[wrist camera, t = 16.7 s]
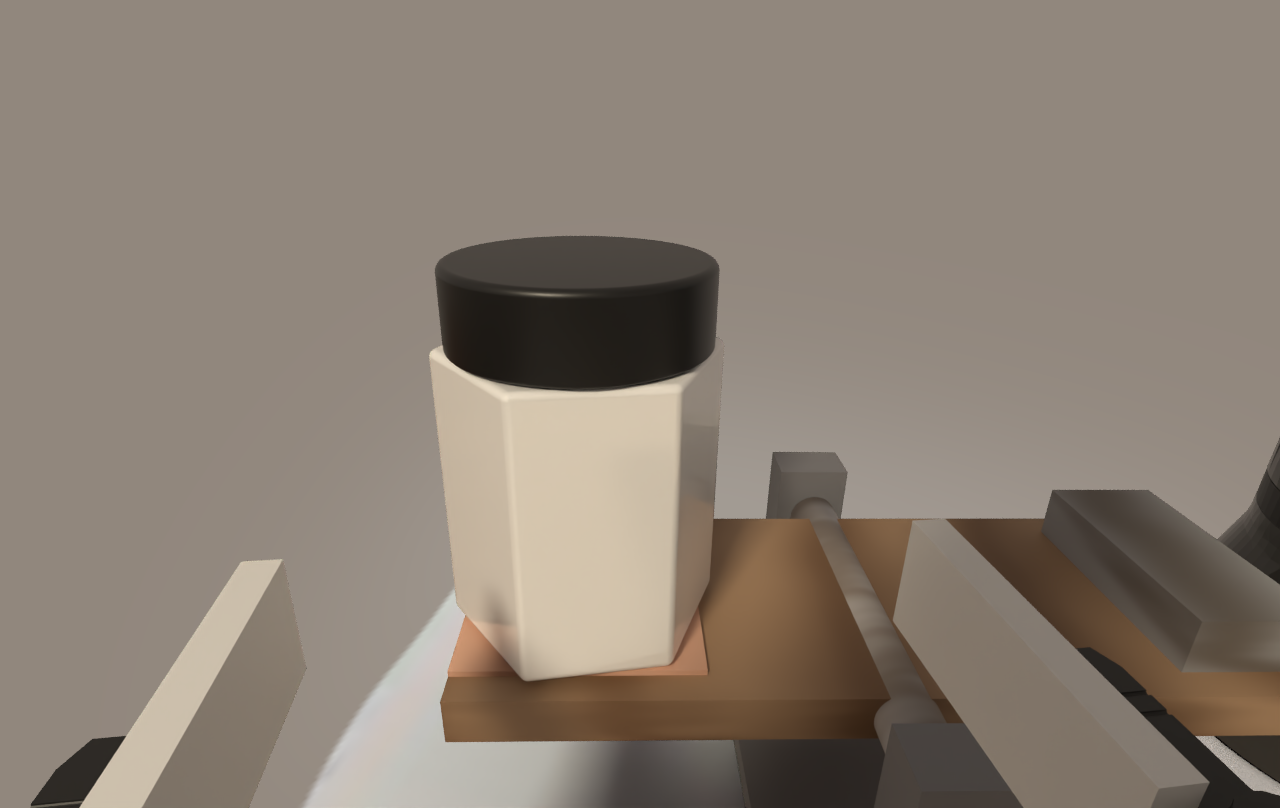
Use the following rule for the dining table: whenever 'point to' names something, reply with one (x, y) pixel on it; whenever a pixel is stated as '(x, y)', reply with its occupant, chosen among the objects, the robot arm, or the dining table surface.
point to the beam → (876, 649)
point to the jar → (579, 445)
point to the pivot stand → (859, 768)
